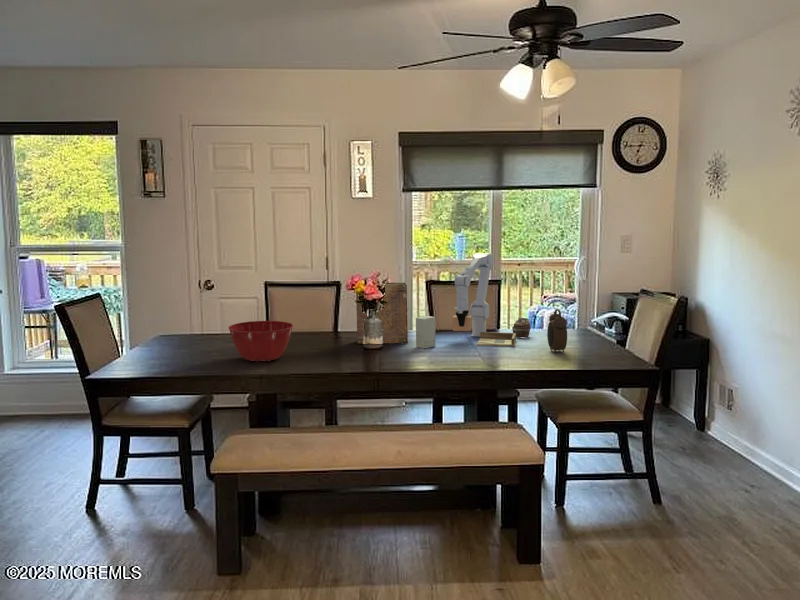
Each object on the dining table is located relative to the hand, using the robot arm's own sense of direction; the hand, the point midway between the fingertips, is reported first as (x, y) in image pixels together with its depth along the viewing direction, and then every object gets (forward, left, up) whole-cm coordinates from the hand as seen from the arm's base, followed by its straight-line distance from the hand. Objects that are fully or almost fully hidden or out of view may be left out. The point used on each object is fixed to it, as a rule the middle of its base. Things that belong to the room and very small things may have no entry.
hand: (462, 325), depth 326 cm
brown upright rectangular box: (+10, -40, -9) cm, 42 cm away
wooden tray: (+1, +17, -8) cm, 19 cm away
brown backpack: (+17, +46, -8) cm, 50 cm away
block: (0, 0, -2) cm, 2 cm away
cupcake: (-19, +28, -9) cm, 35 cm away
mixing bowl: (+58, -83, -9) cm, 101 cm away
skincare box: (+17, -16, -8) cm, 25 cm away
